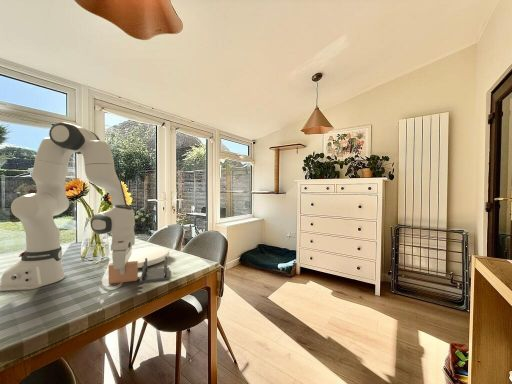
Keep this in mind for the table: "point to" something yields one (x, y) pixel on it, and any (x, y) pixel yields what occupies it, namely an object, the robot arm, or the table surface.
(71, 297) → the table surface
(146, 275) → the rack
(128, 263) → the tile
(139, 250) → the plate
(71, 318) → the table surface
